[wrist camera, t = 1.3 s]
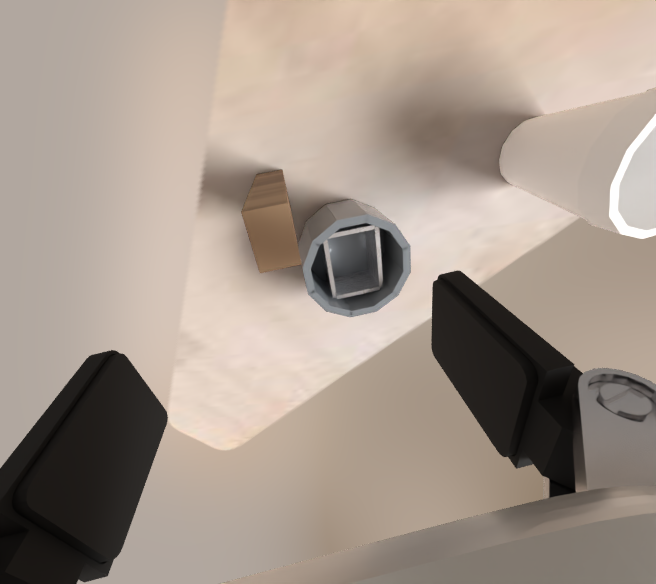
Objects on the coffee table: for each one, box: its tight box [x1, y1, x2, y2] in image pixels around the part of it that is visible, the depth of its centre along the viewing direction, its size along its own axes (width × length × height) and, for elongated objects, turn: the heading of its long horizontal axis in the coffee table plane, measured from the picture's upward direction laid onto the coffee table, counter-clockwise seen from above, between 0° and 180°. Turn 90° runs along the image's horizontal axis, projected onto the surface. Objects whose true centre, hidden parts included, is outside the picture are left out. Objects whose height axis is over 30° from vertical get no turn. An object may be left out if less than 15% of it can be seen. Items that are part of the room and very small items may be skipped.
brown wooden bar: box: [241, 170, 302, 273], centre depth 22 cm, size 4×2×14 cm
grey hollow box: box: [321, 223, 383, 299], centre depth 29 cm, size 7×5×4 cm
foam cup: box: [499, 88, 656, 239], centre depth 24 cm, size 10×9×13 cm
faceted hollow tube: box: [298, 199, 411, 317], centre depth 29 cm, size 10×10×6 cm
